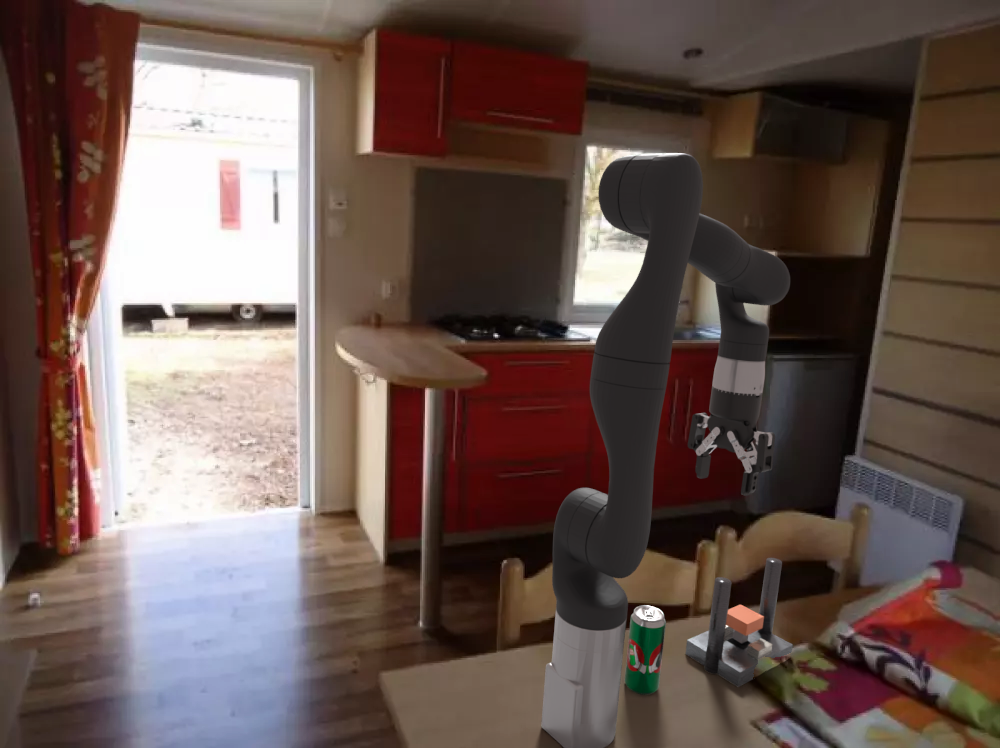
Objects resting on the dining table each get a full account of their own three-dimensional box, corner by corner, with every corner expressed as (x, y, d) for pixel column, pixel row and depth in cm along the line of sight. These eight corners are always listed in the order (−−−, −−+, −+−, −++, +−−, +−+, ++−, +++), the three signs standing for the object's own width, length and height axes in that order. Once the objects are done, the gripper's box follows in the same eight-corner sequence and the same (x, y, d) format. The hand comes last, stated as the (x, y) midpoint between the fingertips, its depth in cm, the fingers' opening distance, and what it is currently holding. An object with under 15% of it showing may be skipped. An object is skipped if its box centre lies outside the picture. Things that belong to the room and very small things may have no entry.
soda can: (656, 677, 108) (664, 605, 106) (660, 698, 104) (668, 623, 101) (623, 674, 109) (630, 602, 107) (625, 695, 104) (633, 620, 102)
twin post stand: (734, 689, 107) (746, 597, 104) (681, 655, 115) (691, 569, 112) (793, 656, 116) (806, 571, 113) (741, 628, 124) (752, 547, 121)
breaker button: (743, 650, 112) (747, 624, 111) (720, 636, 115) (723, 611, 114) (760, 642, 114) (764, 616, 113) (737, 629, 118) (740, 604, 117)
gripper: (685, 379, 114) (673, 475, 117) (763, 398, 103) (747, 504, 106) (715, 376, 119) (703, 469, 121) (792, 394, 107) (777, 497, 110)
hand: (723, 485), depth 114 cm, fingers open, 8 cm apart
